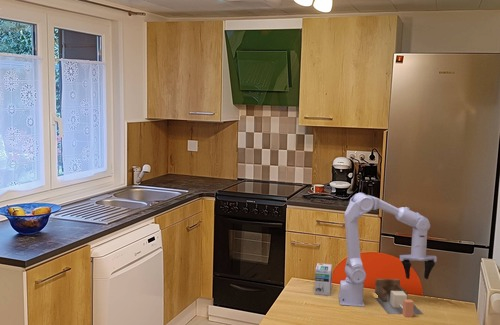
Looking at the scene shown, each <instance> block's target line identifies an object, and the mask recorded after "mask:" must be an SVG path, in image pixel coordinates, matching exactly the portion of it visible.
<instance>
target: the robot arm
mask: <svg viewBox="0 0 500 325" xmlns="http://www.w3.org/2000/svg"><path fill="white" fill-rule="evenodd" d="M378 209H380V210H382V211H384V212H387V213H389V214H391V215H393V216H394V217H395V219H396V220H397V221H399V222H401V223H402V224H405V225H408V226H410V227H412V234H411V249H410V254H399V261H400V262H401V263H402V266H403V269H404V273H405V278H406V279H408V280H410V274H411V272H410V270H411V266H412V263H411V262H410V261H412V262H413V261H414V262H415V261H416V262H418V261H419V262H424V275H423V276H424V279H426V280H429V276H430V274H431V272H432V270H433V268H434V267H435V265H436V263H437V259H438V257H437V256H436V255H428V254H427V245H428V244H427V242H428V241H427V240H428V231H429V230H430V228H431V226H432V225H431V224H430V220H429V219H428V218H427V217H425V216H424V215H421V214H420V213H419V212H418V211H417V212H415V211H413V210H410V207H407V206H405V207H403V206H402V207H401V206H400V207H396V206H394V205H392V204H390V203H389V202H386V201H384V200H382V199H380V198H378V197H376V196H373V195H370V194H366V193H364V192H358V193H355V194H354V195H352V197H350V199H349V203H348V205H347V207H346V210H345V211H344V216H343V217H344V227H345V229H344V230H345V242H346V251H347V252H346V253H347V254H346V255H347V257H346V261H345V262H346V263H345V267H344V273H345V274H346V277H345V279H344V280H342V279H341V280H340V282H339V283H340V284H339V294H338V300H339V305H341V306H348V307H351V306H352V307H365V302H364V286H365V280H366V278H367V273H366V271H365V268H364V266H363V265H364V264H363V261H362V259H361V258H362V257H361V248H360V247H361V246H360V245H361V244H360V233H359V219H360V218H361V217H362V216H363V215H365V214H366V213H369V212H370V211H372V210H373V211H375V210H378Z"/></svg>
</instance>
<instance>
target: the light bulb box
mask: <svg viewBox="0 0 500 325" xmlns="http://www.w3.org/2000/svg"><path fill="white" fill-rule="evenodd" d="M314 272H315V274H314V276H315V278H314V295H319V294H321V295H320V296H328V295H330V296H331V293H332V284H333V283H332V282H333V281H332V279H333V278H332V277H333V264H332V263H323V262H322V263H320V262H317V263H316V266H315V271H314Z"/></svg>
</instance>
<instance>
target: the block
mask: <svg viewBox="0 0 500 325" xmlns="http://www.w3.org/2000/svg"><path fill="white" fill-rule="evenodd" d="M407 298H408V297H407V295H406V294H405V293H404V292H403V291H391V294H390V303H391V305H392V306H393V307H394V308H402V309H403V311H402V314H401V315H402V316H403V317H404V318H413V317H414V314H413V308H414V305H415V302H414V301H413V300H412V299H411V298H410V299H409V298H408V299H407Z"/></svg>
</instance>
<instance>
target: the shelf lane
mask: <svg viewBox="0 0 500 325" xmlns="http://www.w3.org/2000/svg"><path fill="white" fill-rule="evenodd" d="M400 283H401V280H400V279H399V278H375V284H374V285H375V286H374V292H375V293H376V294H377V295H378V298H374V299H375V300H376V301H377V303H378V304H379V305H380V306H381V307H382V309H383V310H384V311H385V313H386V314H387V315H402V311H403V309H402V308H394V307H393V306H392V305H391V303H390V294H391V291H403V292H404V293H405V294H406V295H407V299H409V298H408V297H409V296H408V294H409V293H408V292H407V290H405V289H404V287H402V286H401V284H400ZM413 315H424V313H423V312H422V311H421V310H420V309H419V308H418V307H417V306H416V305H415V304H414V308H413Z"/></svg>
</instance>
